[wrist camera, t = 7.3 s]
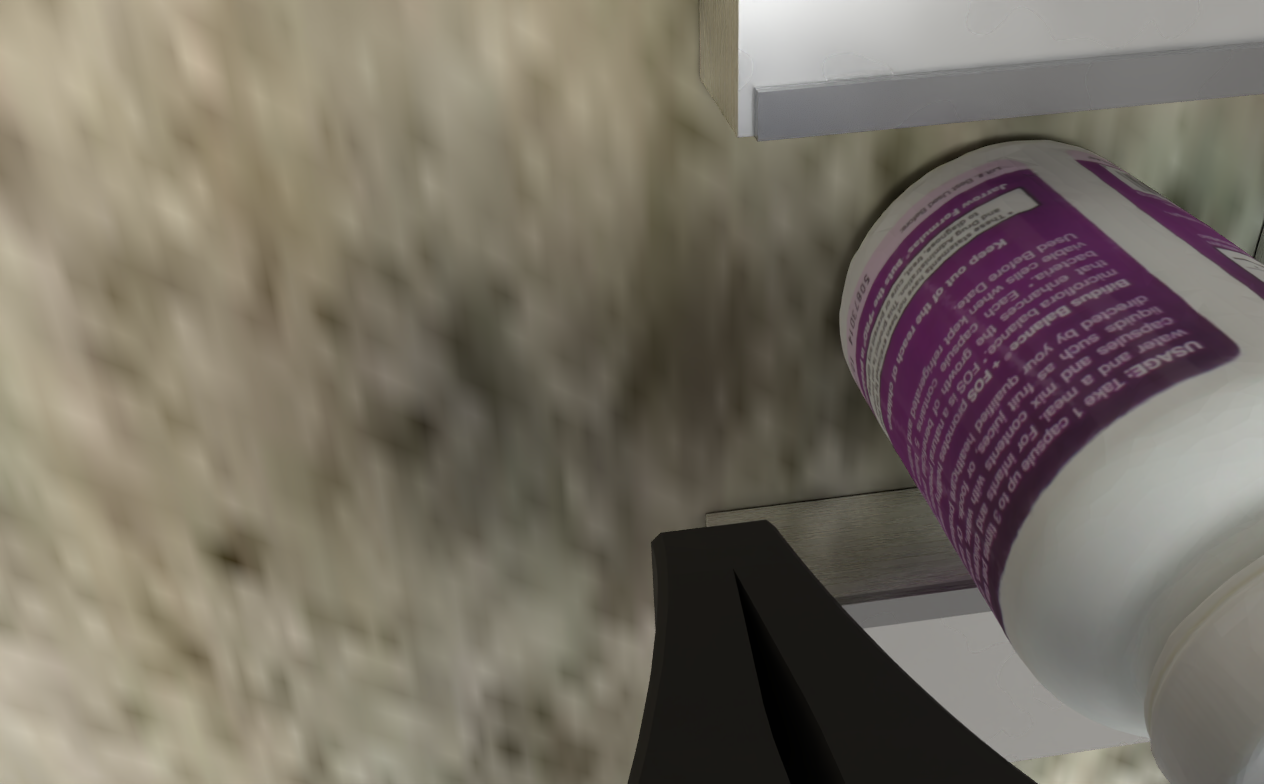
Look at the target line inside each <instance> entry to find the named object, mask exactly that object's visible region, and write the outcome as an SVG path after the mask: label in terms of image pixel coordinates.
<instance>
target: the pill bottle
mask: <svg viewBox="0 0 1264 784" xmlns="http://www.w3.org/2000/svg"><path fill="white" fill-rule="evenodd" d="M839 325H840V337H841V343H842V349H843V354H844V357H845V360H846V362H847V365H848V367H849V370H850V372H851V375H852V376H853V378H854V380H855V382H856V384H857V386H858V387H859V389H860V391H861V393H862V395H863V397H864V398H865V400H866V402H867V403H868V405H869V407H870V408H871V410H872V412H873V413H874V415H875V417H876V419H877V420H878V422H879V424H880V426H881V428H882V429H883V431H884V433H885V434H886V436H887V437H888V439H889V440H890V442H891V444H892V446H893V447H894V449H895V451H896V452H897V454H898V455H899V457H900V458H901V460H902V462H903V463H904V465H905V467H906V469H907V470H908V472H909V474H910V475H911V477H912V479H913V480H914V482H915V484H916V485H917V487H918V489H919V490H920V492H921V494H922V495H923V497H924V498H925V500H926V502H927V503H928V505H929V507H930V508H931V510H932V512H933V513H934V515H935V517H936V518H937V520H938V522H939V524H940V525H941V527H942V529H943V530H944V532H945V534H946V536H947V537H948V539H949V541H950V542H951V544H952V546H953V547H954V549H955V551H956V552H957V554H958V556H959V557H960V559H961V561H962V562H963V564H964V566H965V567H966V569H967V571H968V572H969V574H970V576H971V577H972V579H973V581H974V582H975V584H976V586H977V588H978V589H979V591H980V593H981V594H982V596H983V598H984V599H985V601H986V603H987V604H988V606H989V607H990V609H991V611H992V612H993V614H994V616H995V618H996V619H997V621H998V623H999V624H1000V626H1001V628H1002V629H1003V632H1004V634H1005V635H1006V637H1007V638H1008V640H1009V642H1010V643H1011V645H1012V647H1013V648H1014V650H1015V652H1016V653H1017V655H1018V656H1019V657H1020V658H1021V660H1022V661H1023V662H1024V664H1025V665H1026V666H1027V667H1028V669H1029V670H1030V671H1031V672H1032V674H1033V675H1034V676H1035V677H1036V679H1037V680H1038V681H1039V682H1040V683H1041V684H1042V685H1043V686H1044V687H1045V688H1046V689H1047V690H1048V691H1049V692H1050V693H1051V694H1053V695H1054V696H1055V697H1056V698H1057V699H1058V700H1060V701H1061V702H1062V703H1064V704H1065V705H1066V706H1068V707H1070V708H1071V709H1073V710H1074V711H1076V712H1078V713H1080V714H1081V715H1083V716H1085V717H1087V718H1089V719H1091V720H1093V721H1095V722H1097V723H1100V724H1102V725H1104V726H1107V727H1109V728H1112V729H1115V730H1118V731H1121V732H1125V733H1129V734H1133V735H1136V736H1141V737H1147V738H1150V740H1151V751H1152V754H1153V756H1154V758H1155V761H1156V763H1157V765H1158V767H1159V769H1160V770H1161V772H1162V773H1163V774H1164V776H1165V777H1166V778H1167V779H1168V781H1169V782H1170V783H1171V784H1264V265H1263V264H1262V263H1260V262H1259V261H1257V260H1256V259H1254V258H1253V257H1251V256H1250V255H1249V254H1247V253H1246V252H1244V251H1243V250H1242V249H1240V248H1239V247H1237V246H1236V245H1234V244H1233V243H1232V242H1230V241H1229V240H1227V239H1226V238H1224V237H1223V236H1221V235H1220V234H1219V233H1217V232H1216V231H1215V230H1213V229H1212V228H1211V227H1209V226H1208V225H1206V224H1204V223H1203V222H1201V221H1199V220H1198V219H1197V218H1195V217H1194V216H1192V215H1191V214H1189V213H1188V212H1186V211H1185V210H1183V209H1181V208H1180V207H1178V206H1177V205H1175V204H1174V203H1173V202H1171V201H1170V200H1168V199H1167V198H1165V197H1164V196H1162V195H1161V194H1159V193H1157V192H1156V191H1154V190H1153V189H1151V188H1150V187H1148V186H1147V185H1145V184H1144V183H1142V182H1141V181H1139V180H1138V179H1136V178H1135V177H1133V176H1131V175H1130V174H1128V173H1127V172H1125V171H1124V170H1122V169H1120V168H1119V167H1117V166H1116V165H1114V164H1113V163H1111V162H1110V161H1108V160H1106V159H1105V158H1103V157H1101V156H1099V155H1097V154H1095V153H1093V152H1091V151H1089V150H1086V149H1083V148H1081V147H1078V146H1073V145H1069V144H1065V143H1060V142H1056V141H1052V140H1025V141H1010V142H1004V143H998V144H993V145H989V146H985V147H982V148H979V149H977V150H974V151H971V152H968V153H966V154H964V155H962V156H960V157H959V158H957V159H955V160H952V161H950V162H948V163H945V164H943V165H941V166H939V167H937V168H935V169H933V170H932V171H930V172H928V173H927V174H926V175H924V176H923V177H922V178H920V179H919V180H918V181H916V182H915V183H913V184H912V185H911V186H910V187H909V188H908V189H907V190H905V191H904V192H903V193H902V194H901V195H900V196H899V197H898V198H897V199H896V200H894V201H893V202H892V203H891V205H890V206H889V207H888V208H887V209H886V210H885V211H884V212H883V214H882V215H881V216H880V218H879V219H878V220H877V221H876V222H875V223H874V225H873V226H872V228H871V229H870V230H869V232H868V233H867V235H866V237H865V238H864V240H863V242H862V243H861V245H860V247H859V249H858V251H857V252H856V253H855V255H854V257H853V258H852V260H851V263H850V266H849V269H848V273H847V277H846V281H845V286H844V290H843V295H842V302H841V307H840V312H839Z"/></svg>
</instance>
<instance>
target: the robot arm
mask: <svg viewBox="0 0 1264 784" xmlns="http://www.w3.org/2000/svg"><path fill="white" fill-rule="evenodd" d="M651 549H652V568H653V588H654V607H655V626H656V633H655V642H654V651H653V659H652V668H651V675H650V682H649V688H648V693H647V698H646V703H645V708H644V713H643V719H642V724H641V729H640V734H639V739H638V743H637V748H636V752H635V756H634V760H633V764H632V768H631V772H630V776H629V780H628V784H1038V783H1036V782H1035V781H1034V780H1032V779H1031V778H1030V777H1028V776H1027V775H1026V774H1024V773H1023V772H1022V771H1020V770H1019V769H1018V768H1016V767H1015V766H1014V765H1012V764H1011V763H1010V762H1009V761H1007V760H1006V759H1005V758H1004V757H1002V756H1001V755H1000V754H999V753H997V752H996V751H995V750H994V749H992V748H991V747H990V746H989V745H987V744H986V743H985V742H984V741H982V740H981V739H980V738H979V737H977V736H976V735H975V734H974V733H973V732H971V731H970V730H969V729H968V728H967V727H966V726H964V725H963V724H962V723H961V722H960V721H959V720H957V719H956V718H955V717H954V716H953V715H952V714H951V713H949V712H948V711H947V710H946V709H945V708H944V707H943V706H942V705H940V704H939V703H938V702H937V701H936V700H935V699H934V698H933V697H932V696H931V695H930V694H929V693H927V692H926V691H925V690H924V689H923V688H922V687H921V686H920V685H919V684H918V683H917V682H916V681H915V680H913V679H912V678H911V677H910V676H909V675H908V674H907V673H906V672H905V671H904V670H903V669H902V668H901V667H900V666H899V665H898V664H897V663H896V662H895V661H894V660H893V659H892V658H891V657H890V656H889V655H888V654H887V653H886V652H885V651H884V650H883V649H882V648H881V647H880V646H879V645H878V644H877V643H876V642H875V641H874V640H873V639H872V638H871V637H870V636H869V635H868V634H867V633H866V632H865V630H864V629H863V628H862V627H861V626H860V625H859V624H858V623H857V622H856V621H855V620H854V619H853V618H852V617H851V616H850V615H849V614H848V613H847V612H846V610H845V609H844V608H843V607H842V606H841V605H840V604H839V603H838V602H837V601H836V599H835V598H834V597H833V596H832V595H831V594H830V593H829V591H828V590H827V589H826V588H825V587H824V586H823V585H822V583H821V582H820V581H819V580H818V579H817V578H816V577H815V575H814V574H813V573H812V572H811V571H810V569H809V568H808V567H807V566H806V565H805V563H804V562H803V561H802V560H801V559H800V557H799V556H798V555H797V554H796V553H795V551H794V550H793V549H792V548H791V546H790V545H789V544H788V542H787V541H786V540H785V539H784V537H783V536H782V535H781V534H780V532H779V531H778V530H777V528H776V527H775V526H774V525H773V524H771V523H770V522H769V521H767V520H758V521H751V522H743V523H735V524H727V525H719V526H711V527H703V528H695V529H687V530H679V531H671V532H663V533H660V534H659V535H658V536H657V537H656V538H655V539H654V540H653V541H652V542H651Z"/></svg>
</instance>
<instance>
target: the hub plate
mask: <svg viewBox="0 0 1264 784" xmlns="http://www.w3.org/2000/svg"><path fill="white" fill-rule="evenodd" d="M699 38H700V79H701V81H702V82H703V84H704V85H705V87H706V88H707V90H708V92H709V93H710V95H711V96H712V98H713V99H714V101H715V102H716V104H717V106H718V107H719V109H720V110H721V112H722V113H723V115H724V117H725V118H726V120H727V121H728V123H729V124H730V126H731V127H732V129H733V131H734V132H735V134H736V135H737V137H748V136H754V137H755V138H756V140H757V141H768V140H778V139H789V138H800V137H810V136H821V135H831V134H842V133H853V132H863V131H874V130H885V129H895V128H906V127H916V126H927V125H938V124H948V123H959V122H970V121H980V120H991V119H1001V118H1012V117H1023V116H1033V115H1044V114H1055V113H1065V112H1076V111H1086V110H1097V109H1108V108H1118V107H1129V106H1140V105H1150V104H1161V103H1171V102H1182V101H1193V100H1203V99H1214V98H1225V97H1235V96H1246V95H1256V94H1264V0H699ZM1254 259H1256V260H1257V261H1259V262H1260V263H1262V264H1263V265H1264V228H1263V231H1262V234H1261V238H1260V241H1259V245H1258V248H1257V251H1256V255H1255V258H1254ZM758 520H767V521H769V522H770V523H771V524H773V525H774V526H775V527H776V528H777V530H778V531H779V532H780V534H781V535H782V536H783V537H784V539H785V540H786V541H787V542H788V544H789V545H790V546H791V548H792V549H793V550H794V551H795V553H796V554H797V555H798V556H799V557H800V559H801V560H802V561H803V562H804V563H805V565H806V566H807V567H808V568H809V569H810V571H811V572H812V573H813V574H814V575H815V577H816V578H817V579H818V580H819V581H820V582H821V583H822V585H823V586H824V587H825V588H826V589H827V590H828V591H829V593H830V594H831V595H832V596H833V597H834V598H835V599H836V601H837V602H838V603H839V604H840V605H841V606H842V607H843V608H844V609H845V610H846V612H847V613H848V614H849V615H850V616H851V617H852V618H853V619H854V620H855V621H856V622H857V623H858V624H859V625H860V626H861V627H862V628H863V629H864V630H865V632H866V633H867V634H868V635H869V636H870V637H871V638H872V639H873V640H874V641H875V642H876V643H877V644H878V645H879V646H880V647H881V648H882V649H883V650H884V651H885V652H886V653H887V654H888V655H889V656H890V657H891V658H892V659H893V660H894V661H895V662H896V663H897V664H898V665H899V666H900V667H901V668H902V669H903V670H904V671H905V672H906V673H907V674H908V675H909V676H910V677H911V678H912V679H913V680H915V681H916V682H917V683H918V684H919V685H920V686H921V687H922V688H923V689H924V690H925V691H926V692H927V693H929V694H930V695H931V696H932V697H933V698H934V699H935V700H936V701H937V702H938V703H939V704H940V705H942V706H943V707H944V708H945V709H946V710H947V711H948V712H949V713H951V714H952V715H953V716H954V717H955V718H956V719H957V720H959V721H960V722H961V723H962V724H963V725H964V726H966V727H967V728H968V729H969V730H970V731H971V732H973V733H974V734H975V735H976V736H977V737H979V738H980V739H981V740H982V741H984V742H985V743H986V744H987V745H989V746H990V747H991V748H992V749H994V750H995V751H996V752H997V753H999V754H1000V755H1001V756H1002V757H1004V758H1005V759H1006V760H1007V761H1009V762H1014V761H1021V760H1027V759H1034V758H1041V757H1048V756H1054V755H1061V754H1068V753H1075V752H1082V751H1088V750H1095V749H1102V748H1109V747H1115V746H1122V745H1129V744H1136V743H1142V742H1149V741H1151V740H1150V738H1147V737H1141V736H1136V735H1133V734H1129V733H1125V732H1121V731H1118V730H1115V729H1112V728H1109V727H1107V726H1104V725H1102V724H1100V723H1097V722H1095V721H1093V720H1091V719H1089V718H1087V717H1085V716H1083V715H1081V714H1080V713H1078V712H1076V711H1074V710H1073V709H1071V708H1070V707H1068V706H1066V705H1065V704H1064V703H1062V702H1061V701H1060V700H1058V699H1057V698H1056V697H1055V696H1054V695H1053V694H1051V693H1050V692H1049V691H1048V690H1047V689H1046V688H1045V687H1044V686H1043V685H1042V684H1041V683H1040V682H1039V681H1038V680H1037V679H1036V677H1035V676H1034V675H1033V674H1032V672H1031V671H1030V670H1029V669H1028V667H1027V666H1026V665H1025V664H1024V662H1023V661H1022V660H1021V658H1020V657H1019V656H1018V655H1017V653H1016V652H1015V650H1014V648H1013V647H1012V645H1011V643H1010V642H1009V640H1008V638H1007V637H1006V635H1005V634H1004V632H1003V629H1002V628H1001V626H1000V624H999V623H998V621H997V619H996V618H995V616H994V614H993V612H992V611H991V609H990V607H989V606H988V604H987V603H986V601H985V599H984V598H983V596H982V594H981V593H980V591H979V589H978V588H977V586H976V584H975V582H974V581H973V579H972V577H971V576H970V574H969V572H968V571H967V569H966V567H965V566H964V564H963V562H962V561H961V559H960V557H959V556H958V554H957V552H956V551H955V549H954V547H953V546H952V544H951V542H950V541H949V539H948V537H947V536H946V534H945V532H944V530H943V529H942V527H941V525H940V524H939V522H938V520H937V518H936V517H935V515H934V513H933V512H932V510H931V508H930V507H929V505H928V503H927V502H926V500H925V498H924V497H923V495H922V494H921V492H920V490H919V489H918V488H914V489H906V490H898V491H890V492H882V493H874V494H866V495H858V496H849V497H841V498H833V499H825V500H817V501H809V502H801V503H793V504H785V505H777V506H769V507H761V508H753V509H745V510H737V511H729V512H720V513H712V514H706V527H711V526H719V525H727V524H735V523H743V522H751V521H758Z"/></svg>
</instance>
